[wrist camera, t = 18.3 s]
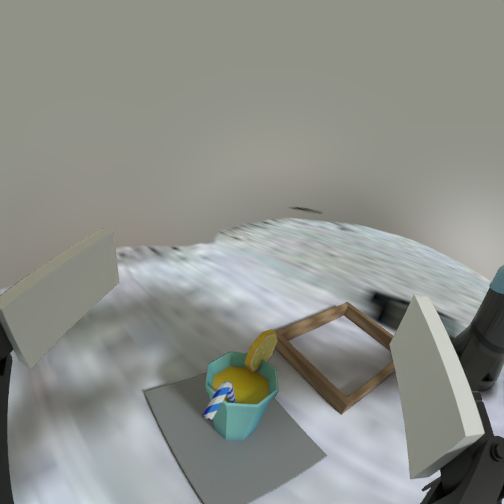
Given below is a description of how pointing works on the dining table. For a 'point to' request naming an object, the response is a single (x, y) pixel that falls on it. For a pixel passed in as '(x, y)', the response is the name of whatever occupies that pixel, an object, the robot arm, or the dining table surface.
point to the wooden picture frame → (313, 374)
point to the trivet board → (230, 446)
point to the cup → (241, 388)
